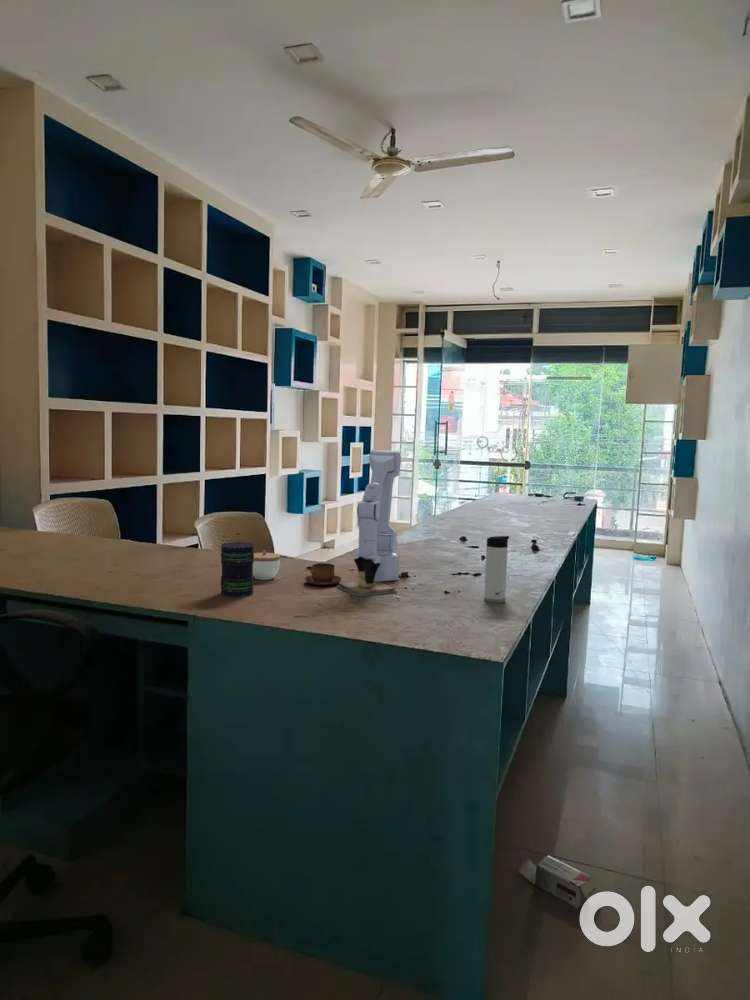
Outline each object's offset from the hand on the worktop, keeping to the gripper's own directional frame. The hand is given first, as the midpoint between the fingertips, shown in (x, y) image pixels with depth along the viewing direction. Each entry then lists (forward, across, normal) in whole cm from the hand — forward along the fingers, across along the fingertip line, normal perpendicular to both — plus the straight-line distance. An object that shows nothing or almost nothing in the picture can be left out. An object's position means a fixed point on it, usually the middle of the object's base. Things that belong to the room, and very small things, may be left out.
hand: (366, 581), depth 217 cm
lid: (+2, 0, 0) cm, 2 cm away
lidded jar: (+3, -29, -24) cm, 38 cm away
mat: (+3, 0, 0) cm, 3 cm away
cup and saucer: (+3, -14, -9) cm, 17 cm away
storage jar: (+3, -10, -39) cm, 40 cm away
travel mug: (+3, +27, +30) cm, 40 cm away
